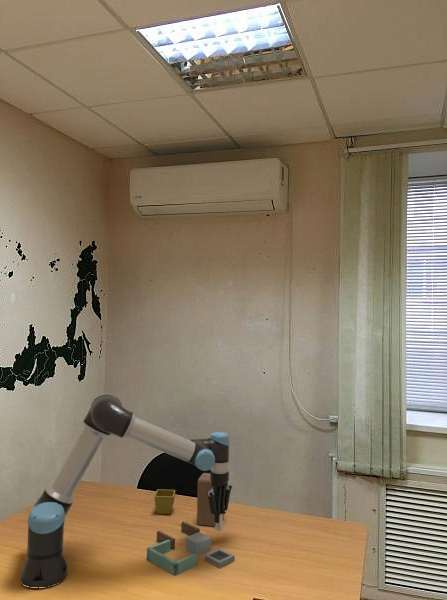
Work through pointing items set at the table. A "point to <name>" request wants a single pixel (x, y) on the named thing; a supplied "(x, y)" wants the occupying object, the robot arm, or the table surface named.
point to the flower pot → (164, 501)
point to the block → (198, 543)
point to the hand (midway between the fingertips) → (219, 529)
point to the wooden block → (204, 501)
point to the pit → (219, 558)
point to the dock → (166, 563)
